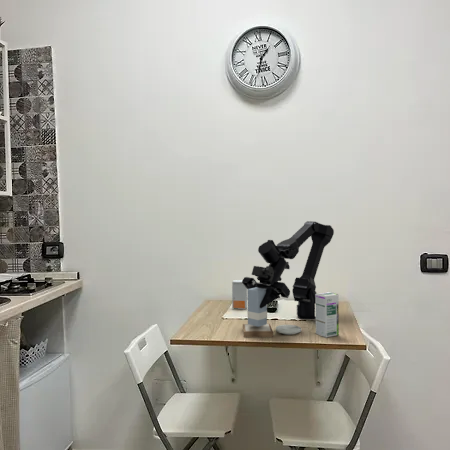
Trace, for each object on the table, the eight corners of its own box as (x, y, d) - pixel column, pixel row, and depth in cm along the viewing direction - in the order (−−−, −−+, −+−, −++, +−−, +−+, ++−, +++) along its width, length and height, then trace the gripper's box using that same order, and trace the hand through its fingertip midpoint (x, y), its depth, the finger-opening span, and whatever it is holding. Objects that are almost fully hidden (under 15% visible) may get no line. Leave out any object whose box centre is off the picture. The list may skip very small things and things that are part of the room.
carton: (256, 321, 174) (255, 287, 173) (267, 324, 170) (266, 289, 169) (247, 324, 170) (247, 289, 170) (258, 326, 167) (258, 291, 166)
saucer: (299, 328, 175) (299, 324, 175) (303, 336, 166) (303, 331, 166) (274, 329, 175) (274, 324, 175) (277, 336, 166) (277, 331, 166)
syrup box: (325, 338, 163) (326, 295, 162) (315, 333, 169) (315, 292, 168) (339, 335, 166) (339, 294, 165) (327, 331, 171) (328, 291, 170)
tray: (270, 328, 175) (270, 323, 175) (272, 336, 165) (272, 331, 165) (242, 329, 175) (242, 323, 175) (243, 337, 165) (243, 331, 165)
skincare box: (232, 309, 206) (231, 281, 205) (233, 307, 210) (233, 279, 209) (246, 309, 205) (246, 281, 204) (247, 307, 209) (247, 280, 208)
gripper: (244, 255, 178) (224, 289, 171) (285, 259, 165) (264, 296, 158) (259, 273, 184) (239, 307, 177) (298, 279, 171) (279, 315, 164)
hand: (254, 306), depth 169 cm, fingers closed on carton, 5 cm apart
